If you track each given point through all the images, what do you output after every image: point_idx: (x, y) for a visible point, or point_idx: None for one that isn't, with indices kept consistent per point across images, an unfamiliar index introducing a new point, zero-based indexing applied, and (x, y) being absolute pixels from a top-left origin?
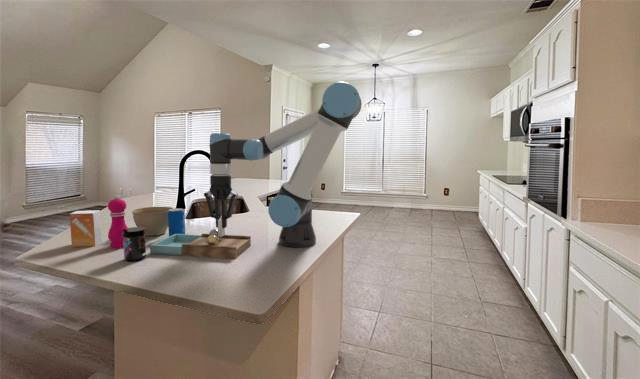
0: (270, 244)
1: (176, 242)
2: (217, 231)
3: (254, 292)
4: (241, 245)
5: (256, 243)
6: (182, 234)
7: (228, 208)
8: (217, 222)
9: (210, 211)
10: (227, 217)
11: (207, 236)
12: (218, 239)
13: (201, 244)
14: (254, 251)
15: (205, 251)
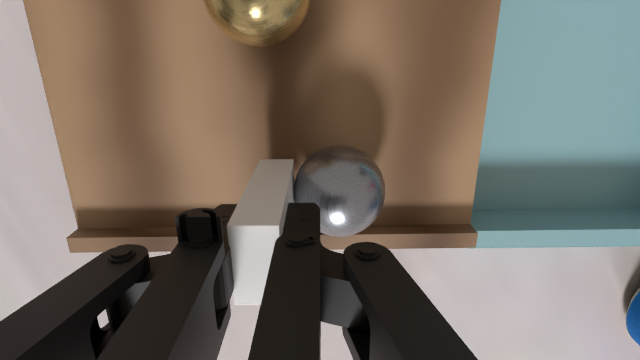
0: (7, 269)
1: (631, 170)
2: (305, 190)
3: None
4: (38, 53)
5: None
6: (635, 236)
7: (6, 354)
8: (298, 227)
9: (407, 297)
10: (123, 247)
11: (422, 226)
12: (206, 9)
13: (377, 12)
14: (19, 113)
15: None
